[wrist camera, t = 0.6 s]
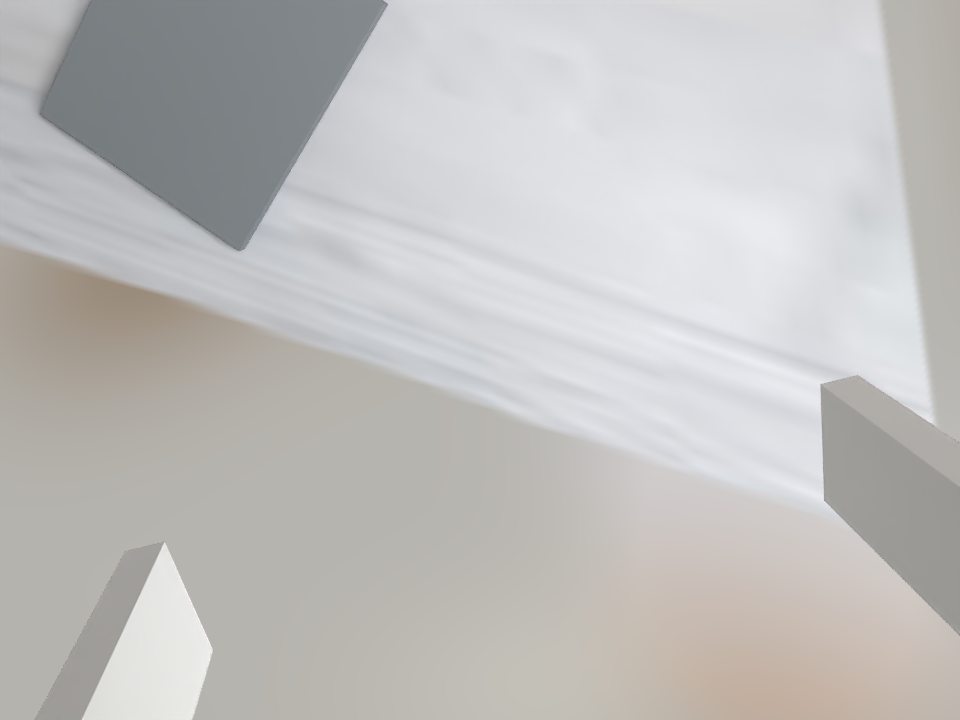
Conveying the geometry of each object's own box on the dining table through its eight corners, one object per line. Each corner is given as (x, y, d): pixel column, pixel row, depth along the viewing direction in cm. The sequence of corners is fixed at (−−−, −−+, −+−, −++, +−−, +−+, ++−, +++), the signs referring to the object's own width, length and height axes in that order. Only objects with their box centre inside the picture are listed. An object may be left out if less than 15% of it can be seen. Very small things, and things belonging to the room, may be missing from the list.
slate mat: (173, -155, 29) (165, -161, 28) (387, 4, 30) (384, 1, 29) (48, 114, 32) (39, 113, 32) (244, 249, 33) (238, 251, 33)
